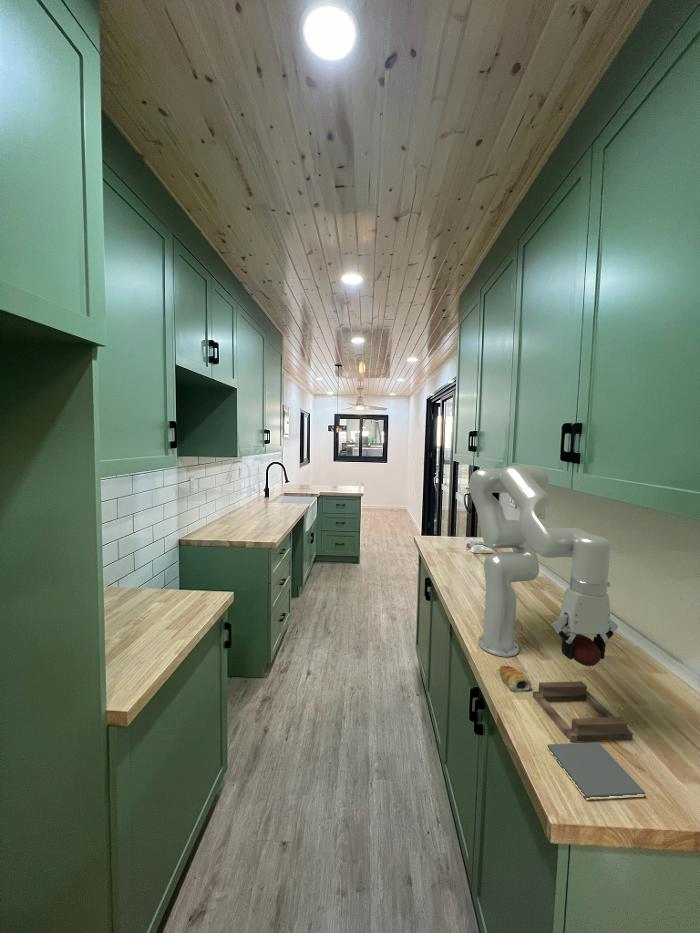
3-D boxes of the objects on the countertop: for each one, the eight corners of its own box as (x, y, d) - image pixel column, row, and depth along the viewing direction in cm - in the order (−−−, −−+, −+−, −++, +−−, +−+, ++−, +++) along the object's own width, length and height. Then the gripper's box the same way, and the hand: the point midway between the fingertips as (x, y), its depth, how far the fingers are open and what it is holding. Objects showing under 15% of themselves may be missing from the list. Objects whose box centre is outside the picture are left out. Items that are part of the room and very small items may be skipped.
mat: (547, 748, 83) (547, 744, 82) (598, 746, 84) (598, 742, 83) (585, 800, 71) (586, 795, 71) (644, 797, 72) (645, 792, 72)
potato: (593, 655, 95) (595, 632, 94) (604, 675, 86) (606, 651, 86) (560, 648, 97) (562, 626, 97) (567, 668, 89) (569, 644, 88)
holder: (532, 696, 99) (533, 682, 99) (585, 695, 101) (586, 681, 100) (570, 742, 85) (571, 725, 84) (632, 739, 86) (633, 723, 86)
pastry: (492, 672, 110) (493, 660, 110) (513, 671, 111) (514, 658, 111) (511, 693, 101) (512, 680, 101) (534, 692, 102) (535, 678, 102)
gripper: (609, 580, 95) (604, 647, 96) (544, 580, 94) (540, 648, 95) (634, 592, 88) (628, 664, 89) (564, 592, 86) (558, 666, 87)
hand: (582, 655), depth 92 cm, fingers closed on potato, 7 cm apart
